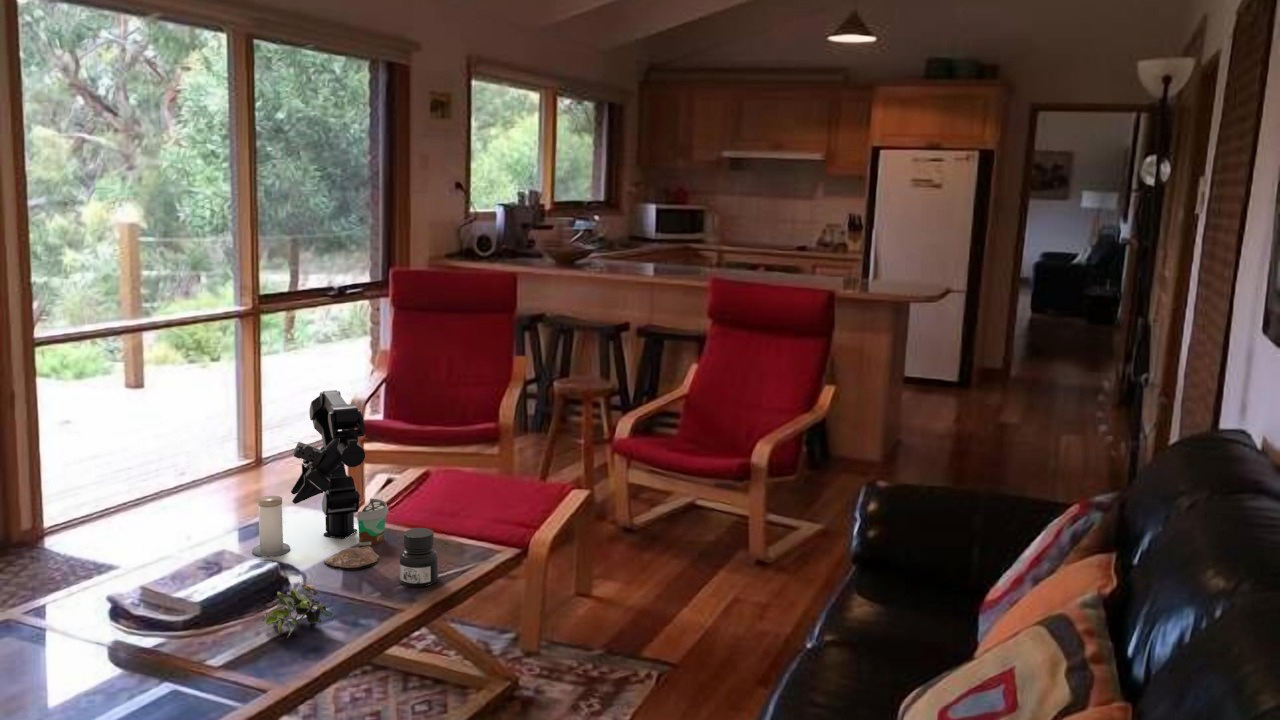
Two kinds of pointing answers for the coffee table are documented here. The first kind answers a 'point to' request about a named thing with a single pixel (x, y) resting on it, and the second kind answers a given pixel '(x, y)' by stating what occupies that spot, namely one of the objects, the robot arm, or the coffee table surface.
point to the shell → (353, 559)
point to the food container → (372, 523)
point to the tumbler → (270, 523)
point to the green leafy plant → (297, 608)
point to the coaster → (258, 552)
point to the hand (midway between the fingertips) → (292, 498)
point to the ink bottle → (418, 558)
